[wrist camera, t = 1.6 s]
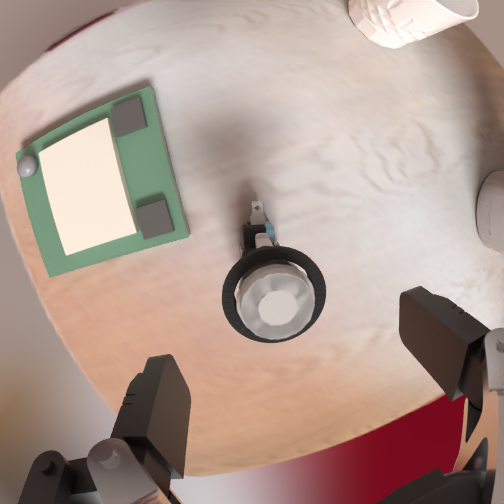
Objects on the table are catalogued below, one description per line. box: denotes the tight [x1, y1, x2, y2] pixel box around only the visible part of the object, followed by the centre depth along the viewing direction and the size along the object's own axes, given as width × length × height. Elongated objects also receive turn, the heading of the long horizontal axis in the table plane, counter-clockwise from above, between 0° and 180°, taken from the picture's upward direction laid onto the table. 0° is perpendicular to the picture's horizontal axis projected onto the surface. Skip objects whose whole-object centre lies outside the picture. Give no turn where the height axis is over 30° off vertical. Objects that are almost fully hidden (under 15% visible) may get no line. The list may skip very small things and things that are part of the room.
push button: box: [222, 200, 326, 343], centre depth 18 cm, size 7×5×10 cm
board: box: [16, 86, 190, 278], centre depth 19 cm, size 14×12×2 cm
